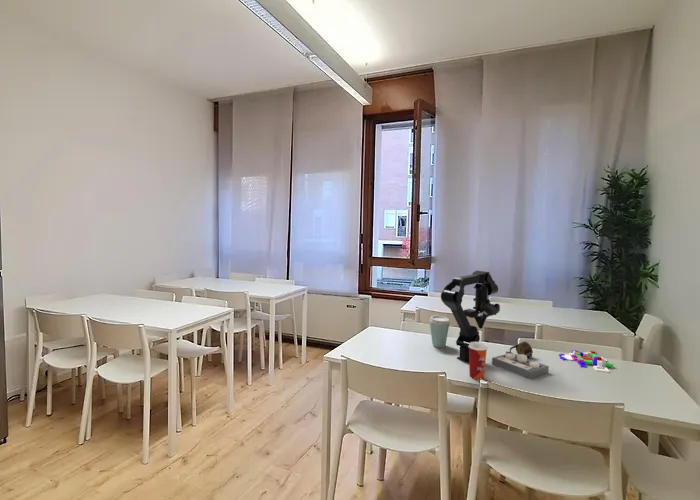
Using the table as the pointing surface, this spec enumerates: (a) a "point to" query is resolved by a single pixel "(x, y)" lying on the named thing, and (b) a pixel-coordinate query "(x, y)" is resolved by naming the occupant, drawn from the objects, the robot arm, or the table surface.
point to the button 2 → (534, 364)
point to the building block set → (588, 360)
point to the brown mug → (522, 349)
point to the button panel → (520, 371)
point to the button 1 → (510, 356)
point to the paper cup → (477, 359)
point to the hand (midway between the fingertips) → (480, 328)
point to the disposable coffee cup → (439, 330)
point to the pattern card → (514, 363)
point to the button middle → (522, 358)
